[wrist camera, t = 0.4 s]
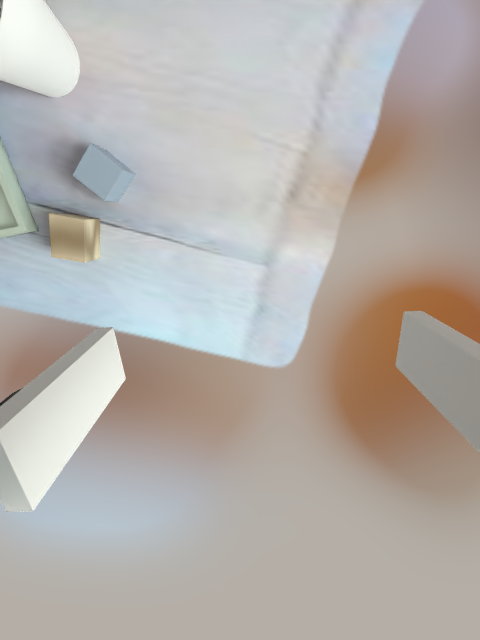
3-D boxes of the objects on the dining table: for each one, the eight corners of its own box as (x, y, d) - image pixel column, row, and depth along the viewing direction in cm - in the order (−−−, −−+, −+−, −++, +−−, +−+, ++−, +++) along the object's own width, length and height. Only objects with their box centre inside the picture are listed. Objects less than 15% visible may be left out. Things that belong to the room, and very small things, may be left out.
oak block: (68, 213, 36) (48, 213, 33) (100, 218, 37) (83, 219, 33) (70, 252, 38) (51, 256, 34) (100, 257, 38) (84, 262, 35)
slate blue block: (90, 179, 35) (72, 175, 31) (107, 150, 34) (90, 142, 30) (118, 201, 36) (104, 200, 32) (135, 174, 35) (122, 170, 31)
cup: (33, 121, 33) (-76, 74, 22) (-10, 22, 30) (-164, -92, 19) (105, 96, 32) (30, 33, 21) (68, -8, 29) (-45, -148, 18)
